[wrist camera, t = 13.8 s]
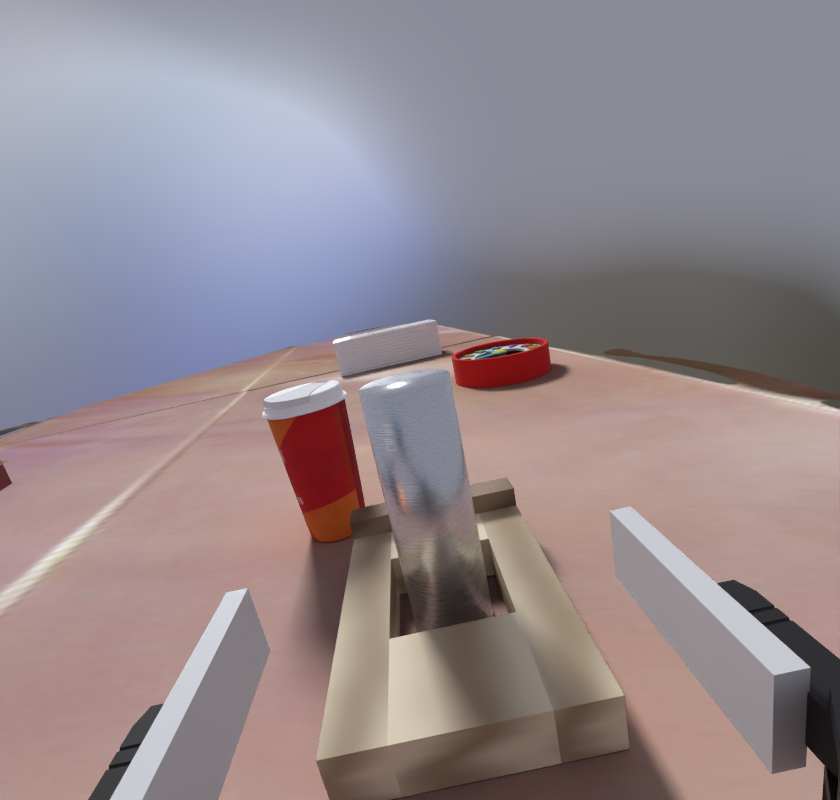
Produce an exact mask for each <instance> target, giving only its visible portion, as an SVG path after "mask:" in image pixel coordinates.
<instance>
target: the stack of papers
mask: <svg viewBox="0 0 840 800" xmlns="http://www.w3.org/2000/svg"><path fill="white" fill-rule="evenodd" d="M438 336H439V334H438V328H437V324H436V321H435V320H430V319H429V320H424V321H420V322H415V323H411V324H406V325H401V326H397V327H392V328H388V329H383V330H378V331H374V332H369V333H364V334H359V335H355V336H350V337H345V338H341V339H336V340H334V342H333V345H334V349H335V352H336V357H337V361H338V365H339V369H340V373H341V377H342V376H347V375H351V374H356V373H360V372H365V371H369V370H374V369H378V368H382V367H387V366H391V365H396V364H400V363H405V362H409V361H414V360H418V359H423V358H427V357H431V356H436V355H440V354H442V352H441V351H442V350H441V346H440V340H439V337H438Z"/></svg>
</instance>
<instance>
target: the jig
mask: <svg viewBox="0 0 840 800" xmlns="http://www.w3.org/2000/svg"><path fill="white" fill-rule="evenodd" d="M470 489H471V495H472V500H473V506H474V511H475V516H476V522H477V527H478V533H479V538H480V544H481V549H482V555H483V560H484V565H485V571H486V576H491V575H495V576H496V579H497V582H498V585H499V588H500V591H501V593H502V596H503V599H504V602H505V605H506V608H507V610H508V613H509V614H505V615H500V616H495V617H491V618H486V619H481V620H476V621H472V622H467V623H462V624H457V625H453V626H448V627H443V628H438V629H434V630H429V631H424V632H419V633H415V634H410V635H405V636H400V594H405V593H407V590H406V586H405V582H404V578H403V573H402V569H401V565H400V561H399V557H398V553H397V549H396V545H395V540H394V536H393V532H392V528H391V524H390V520H389V516H388V512H387V507H386V503H382V504H377V505H372V506H368V507H363V508H358V509H353V510H352V512H351V517H350V522H349V524H350V527H351V531H352V535H353V538H354V541H353V547H352V553H351V559H350V565H349V570H348V576H347V582H346V588H345V594H344V600H343V605H342V611H341V617H340V623H339V629H338V635H337V640H336V646H335V652H334V658H333V664H332V670H331V675H330V681H329V687H328V693H327V699H326V705H325V710H324V716H323V722H322V728H321V734H320V739H319V745H318V751H317V757H316V763H317V765H318V768H319V771H320V774H321V777H322V779H323V782H324V785H325V788H326V791H327V794H328V796H329V799H330V800H391V799H396V798H401V797H406V796H410V795H415V794H420V793H424V792H429V791H434V790H439V789H443V788H448V787H453V786H457V785H462V784H467V783H471V782H476V781H481V780H486V779H490V778H495V777H500V776H504V775H509V774H514V773H519V772H523V771H528V770H533V769H537V768H542V767H547V766H551V765H556V764H561V763H566V762H570V761H575V760H580V759H584V758H589V757H594V756H599V755H603V754H608V753H613V752H617V751H622V750H627V749H629V738H628V727H627V717H626V706H625V696H624V694H623V692H622V690H621V688H620V687H619V685H618V683H617V681H616V680H615V678H614V676H613V674H612V673H611V671H610V669H609V667H608V666H607V664H606V662H605V660H604V659H603V657H602V655H601V653H600V652H599V650H598V648H597V646H596V644H595V643H594V641H593V639H592V637H591V636H590V634H589V632H588V630H587V629H586V627H585V625H584V623H583V622H582V620H581V618H580V616H579V615H578V613H577V611H576V609H575V608H574V606H573V604H572V602H571V601H570V599H569V597H568V595H567V594H566V592H565V590H564V588H563V587H562V585H561V583H560V581H559V580H558V578H557V576H556V574H555V573H554V571H553V569H552V567H551V566H550V564H549V562H548V560H547V559H546V557H545V555H544V553H543V552H542V550H541V548H540V546H539V545H538V543H537V541H536V539H535V537H534V536H533V534H532V532H531V530H530V529H529V527H528V525H527V523H526V522H525V520H524V518H523V516H522V515H521V513H520V511H519V509H518V508H517V506H516V501H515V494H514V488H513V487H512V485H511V483H510V482H509V480H508V478H502V479H497V480H492V481H487V482H483V483H478V484H473V485H470Z"/></svg>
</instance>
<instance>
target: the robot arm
mask: <svg viewBox="0 0 840 800" xmlns="http://www.w3.org/2000/svg"><path fill="white" fill-rule="evenodd" d="M610 519H611V530H612V541H613V551H614V562H615V573H616V577H617V578H618V580H619V581H620V582H621V583H622V585H623V586H624V587H625V588H626V590H627V591H628V592H629V593H630V595H631V596H632V597H633V599H634V600H635V601H636V602H637V604H638V605H639V606H640V607H641V609H642V610H643V611H644V613H645V614H646V615H647V616H648V618H649V619H650V620H651V621H652V623H653V624H654V625H655V626H656V628H657V629H658V630H659V632H660V633H661V634H662V635H663V637H664V638H665V639H666V640H667V642H668V643H669V644H670V645H671V647H672V648H673V649H674V651H675V652H676V653H677V654H678V656H679V657H680V658H681V659H682V661H683V662H684V663H685V665H686V666H687V667H688V668H689V670H690V671H691V672H692V673H693V675H694V676H695V677H696V678H697V680H698V681H699V682H700V684H701V685H702V686H703V687H704V689H705V690H706V691H707V692H708V694H709V695H710V696H711V697H712V699H713V700H714V701H715V703H716V704H717V705H718V706H719V708H720V709H721V710H722V711H723V713H724V714H725V715H726V717H727V718H728V719H729V720H730V722H731V723H732V724H733V725H734V727H735V728H736V729H737V730H738V732H739V733H740V734H741V736H742V737H743V738H744V739H745V741H746V742H747V743H748V744H749V746H750V747H751V748H752V749H753V751H754V752H755V753H756V755H757V756H758V757H759V758H760V760H761V761H762V762H763V763H764V765H765V766H766V767H767V769H768V770H769V771H770V772H771V774H774V773H779V772H783V771H788V770H792V769H797V768H802V767H806V753H807V747H808V748H809V749H810V750H811V751H812V752H813V753H814V754H815V755H816V756H817V758H818V759H819V760H820V761H821V762H822V763H823V764H824V765H825V767H824V782H823V798H822V800H840V659H839V658H838V657H836V656H835V655H834V654H833V653H831V652H830V651H829V650H828V649H827V648H825V647H824V646H823V645H822V644H820V643H819V642H818V641H817V640H816V639H814V638H813V637H812V636H811V635H809V634H808V633H807V632H806V631H804V630H803V629H802V628H801V627H800V626H798V625H797V624H796V623H795V622H793V621H790V620H789V617H787V616H786V615H785V614H784V613H782V612H781V611H780V610H779V609H778V608H775V607H774V605H773V604H771V603H770V602H769V601H768V600H767V599H765V598H764V597H763V596H762V595H760V594H759V593H758V592H757V591H755V590H753V589H751V588H749V587H747V586H745V585H743V584H741V583H739V582H737V581H735V580H731V581H726V582H721V583H716V582H715V581H713V580H712V579H711V578H710V577H709V576H708V575H707V574H706V573H704V572H703V571H702V570H701V569H700V568H699V567H698V566H697V565H696V564H694V563H693V562H692V561H691V560H690V559H689V558H688V557H687V556H685V555H684V554H683V553H682V552H681V551H680V550H679V549H678V548H676V547H675V546H674V545H673V544H672V543H671V542H670V541H669V540H668V539H666V538H665V537H664V536H663V535H662V534H661V533H660V532H659V531H657V530H656V529H655V528H654V527H653V526H652V525H651V524H650V523H649V522H647V521H646V520H645V519H644V518H643V517H642V516H641V515H640V514H638V513H637V512H636V511H635V510H634V509H633V508H632V507H626V508H621V509H617V510H612V511H610ZM269 652H270V648H269V646H268V643H267V640H266V637H265V634H264V632H263V629H262V626H261V623H260V621H259V618H258V615H257V612H256V609H255V607H254V604H253V601H252V598H251V595H250V593H249V590H248V588H246V589H241V590H236V591H231V592H227V593H226V594H225V596H224V598H223V600H222V601H221V603H220V605H219V607H218V609H217V610H216V612H215V614H214V616H213V617H212V619H211V621H210V623H209V625H208V626H207V628H206V630H205V632H204V633H203V635H202V637H201V639H200V641H199V642H198V644H197V646H196V648H195V649H194V651H193V653H192V655H191V656H190V658H189V660H188V662H187V664H186V665H185V667H184V669H183V671H182V672H181V674H180V676H179V678H178V680H177V681H176V683H175V685H174V687H173V688H172V690H171V692H170V694H169V696H168V697H167V699H166V701H165V703H164V704H160V705H155V706H151V707H150V708H149V709H148V710H147V711H146V713H145V714H144V715H143V716H142V717H141V718H140V719H139V720H138V721H137V722H136V723H135V724H134V726H133V727H132V728H131V730H130V732H129V733H128V735H127V737H126V738H125V740H124V742H123V743H122V745H121V747H120V751H119V752H117V753H116V755H115V757H114V758H113V760H112V761H111V763H110V765H109V769H108V770H106V771H105V773H104V775H103V776H102V778H101V780H100V781H99V783H98V785H97V786H96V788H95V790H94V791H93V793H92V794H91V796H90V798H89V799H88V800H218V798H219V795H220V793H221V790H222V787H223V784H224V781H225V778H226V775H227V772H228V770H229V767H230V764H231V761H232V758H233V755H234V752H235V750H236V747H237V744H238V741H239V738H240V735H241V732H242V729H243V727H244V724H245V721H246V718H247V715H248V712H249V709H250V707H251V704H252V701H253V698H254V695H255V692H256V689H257V686H258V684H259V681H260V678H261V675H262V672H263V669H264V666H265V664H266V661H267V658H268V655H269Z"/></svg>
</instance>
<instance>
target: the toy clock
mask: <svg viewBox="0 0 840 800" xmlns="http://www.w3.org/2000/svg"><path fill="white" fill-rule="evenodd" d="M452 362H453V368H454V373H455V379H456V383H457V384H458V385H459V386H462V387H467V388H490V387H499V386H506V385H512V384H517V383H521V382H525V381H529V380H532V379H535V378H538V377H540V376H542V375H544V374H546V373H548V372H549V371H550V370H551V363H550V355H549V347H548V341H547V340H546V339H543V338H519V339H510V340H503V341H497V342H491V343H486V344H482V345H478V346H474V347H471V348H467V349H464V350H462V351H459V352H457V353H455V354H454V355H452Z"/></svg>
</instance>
